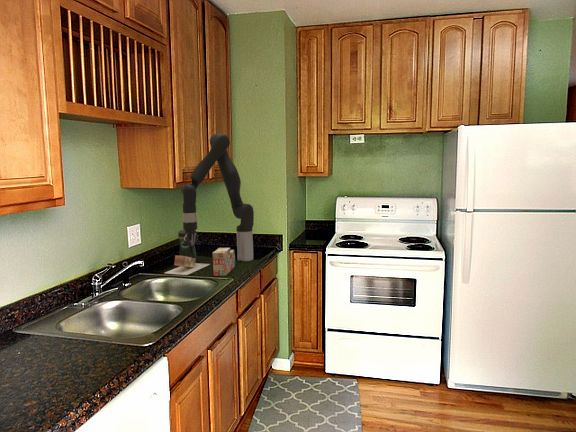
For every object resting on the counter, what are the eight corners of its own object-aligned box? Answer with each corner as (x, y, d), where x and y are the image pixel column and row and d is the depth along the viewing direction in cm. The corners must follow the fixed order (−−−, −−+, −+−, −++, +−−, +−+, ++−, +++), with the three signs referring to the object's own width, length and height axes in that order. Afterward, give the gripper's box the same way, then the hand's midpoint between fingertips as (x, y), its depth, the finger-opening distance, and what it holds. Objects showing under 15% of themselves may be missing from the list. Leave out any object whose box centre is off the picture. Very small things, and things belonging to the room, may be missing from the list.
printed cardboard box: (224, 266, 241) (223, 244, 240) (235, 266, 241) (234, 244, 239) (213, 276, 220) (212, 252, 219) (225, 276, 219) (224, 252, 218)
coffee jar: (198, 259, 259) (196, 228, 257) (194, 262, 251) (192, 230, 249) (182, 259, 260) (180, 228, 258) (178, 262, 252) (176, 231, 250)
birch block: (187, 258, 238) (175, 255, 227) (195, 258, 236) (183, 255, 225) (186, 267, 237) (174, 264, 226) (194, 267, 235) (182, 265, 224)
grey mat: (189, 264, 247) (188, 262, 247) (210, 265, 243) (210, 264, 243) (163, 274, 225) (163, 273, 225) (186, 276, 220) (186, 274, 220)
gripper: (190, 219, 242) (192, 249, 245) (177, 222, 230) (178, 254, 232) (202, 219, 240) (203, 250, 242) (189, 222, 228) (190, 255, 230)
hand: (191, 252), depth 237 cm, fingers closed
